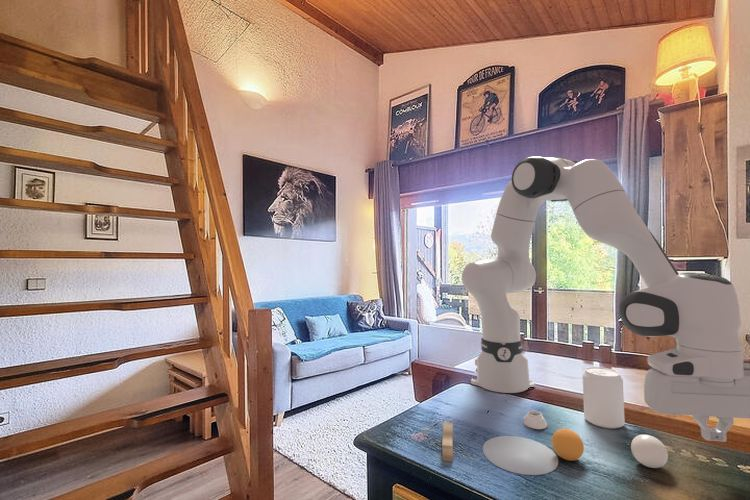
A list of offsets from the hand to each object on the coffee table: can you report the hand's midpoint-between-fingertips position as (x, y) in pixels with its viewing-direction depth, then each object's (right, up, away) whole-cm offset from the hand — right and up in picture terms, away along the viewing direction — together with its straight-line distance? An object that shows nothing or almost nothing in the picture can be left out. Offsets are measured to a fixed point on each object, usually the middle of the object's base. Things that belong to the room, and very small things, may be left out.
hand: (713, 439), depth 65 cm
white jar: (-24, -7, +20) cm, 31 cm away
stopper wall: (-46, -7, +10) cm, 48 cm away
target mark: (-32, -7, +7) cm, 34 cm away
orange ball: (-24, -4, +5) cm, 24 cm away
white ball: (-10, -3, +2) cm, 11 cm away
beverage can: (-7, -7, +20) cm, 22 cm away
